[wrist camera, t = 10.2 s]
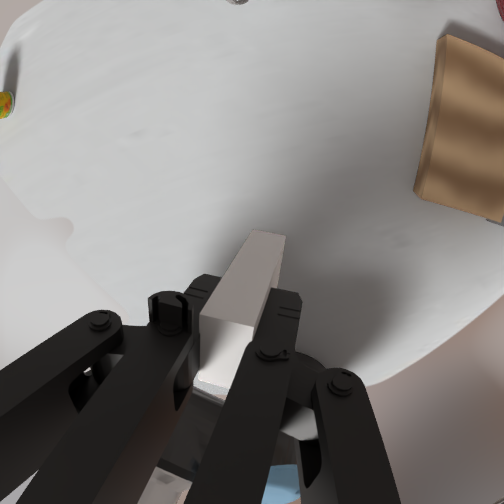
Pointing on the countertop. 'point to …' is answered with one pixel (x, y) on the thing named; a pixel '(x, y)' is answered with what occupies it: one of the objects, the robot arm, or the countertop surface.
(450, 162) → the plate
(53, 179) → the countertop surface
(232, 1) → the glass holder
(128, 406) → the robot arm
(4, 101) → the supplement bottle
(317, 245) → the countertop surface
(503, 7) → the canister
